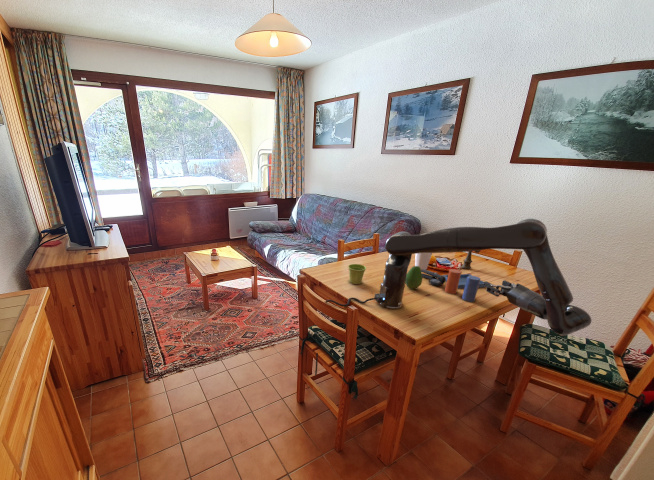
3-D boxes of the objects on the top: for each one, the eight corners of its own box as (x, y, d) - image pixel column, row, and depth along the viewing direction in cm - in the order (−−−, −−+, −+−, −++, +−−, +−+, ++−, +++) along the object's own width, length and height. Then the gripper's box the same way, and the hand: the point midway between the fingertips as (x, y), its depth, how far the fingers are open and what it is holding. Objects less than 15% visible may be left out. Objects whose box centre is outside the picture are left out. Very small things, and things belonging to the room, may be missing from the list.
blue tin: (466, 301, 143) (472, 280, 139) (459, 297, 148) (464, 275, 144) (477, 301, 144) (483, 279, 140) (469, 296, 149) (475, 275, 144)
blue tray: (457, 288, 157) (458, 284, 157) (441, 278, 170) (442, 275, 169) (486, 287, 159) (487, 283, 158) (468, 277, 171) (469, 273, 171)
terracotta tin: (448, 294, 151) (453, 273, 147) (442, 289, 156) (447, 269, 152) (458, 293, 152) (463, 272, 147) (452, 289, 156) (456, 268, 152)
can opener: (448, 286, 159) (450, 276, 157) (436, 288, 158) (438, 277, 156) (426, 274, 175) (427, 265, 173) (415, 275, 174) (416, 266, 172)
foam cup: (430, 267, 186) (434, 246, 181) (428, 272, 178) (432, 250, 173) (413, 264, 190) (417, 244, 185) (410, 269, 183) (414, 248, 178)
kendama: (461, 265, 190) (469, 233, 182) (477, 270, 182) (485, 237, 174) (455, 266, 187) (462, 234, 179) (470, 271, 179) (479, 238, 172)
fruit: (421, 287, 159) (425, 265, 154) (419, 292, 153) (423, 270, 148) (405, 284, 162) (409, 262, 158) (402, 289, 156) (406, 267, 152)
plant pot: (367, 282, 165) (369, 266, 162) (358, 287, 159) (360, 271, 155) (352, 277, 171) (353, 262, 168) (343, 282, 165) (344, 267, 161)
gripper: (546, 289, 115) (511, 273, 130) (511, 291, 113) (480, 275, 128) (540, 307, 118) (506, 290, 133) (506, 309, 116) (476, 291, 131)
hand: (493, 282), depth 131 cm, fingers open, 8 cm apart
